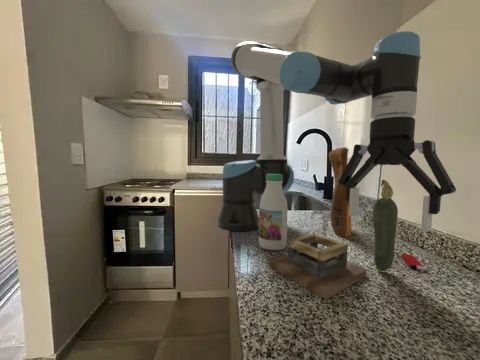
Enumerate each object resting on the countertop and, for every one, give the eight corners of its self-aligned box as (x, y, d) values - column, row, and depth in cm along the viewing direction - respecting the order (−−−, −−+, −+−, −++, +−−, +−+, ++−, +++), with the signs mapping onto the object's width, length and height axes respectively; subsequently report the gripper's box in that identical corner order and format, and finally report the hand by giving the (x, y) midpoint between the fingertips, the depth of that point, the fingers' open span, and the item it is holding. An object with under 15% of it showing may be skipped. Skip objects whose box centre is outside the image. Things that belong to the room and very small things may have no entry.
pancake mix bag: (331, 238, 69) (336, 146, 67) (324, 221, 88) (328, 149, 85) (355, 240, 67) (361, 146, 65) (343, 223, 86) (347, 149, 83)
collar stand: (270, 266, 50) (271, 238, 50) (310, 252, 58) (311, 228, 58) (325, 299, 39) (327, 263, 38) (366, 276, 47) (368, 245, 46)
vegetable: (396, 279, 46) (404, 181, 44) (373, 276, 46) (380, 180, 45) (387, 269, 50) (393, 179, 48) (365, 267, 51) (371, 178, 49)
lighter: (414, 255, 56) (428, 269, 48) (414, 260, 56) (427, 275, 48) (401, 253, 57) (412, 267, 49) (400, 258, 57) (412, 272, 49)
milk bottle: (269, 238, 68) (271, 172, 66) (291, 246, 63) (294, 174, 61) (252, 245, 63) (254, 173, 61) (275, 253, 57) (277, 175, 55)
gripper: (325, 124, 53) (322, 212, 55) (476, 102, 33) (463, 244, 35) (343, 127, 58) (339, 209, 59) (486, 110, 37) (474, 235, 39)
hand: (385, 222), depth 47 cm, fingers open, 13 cm apart
